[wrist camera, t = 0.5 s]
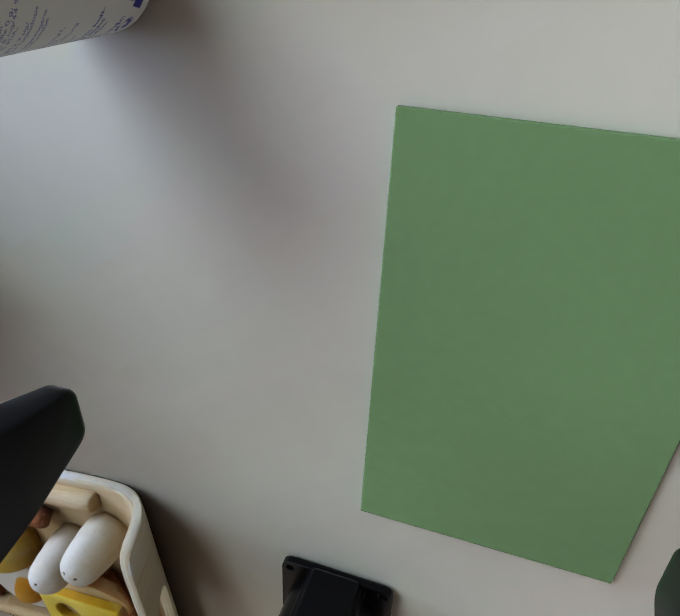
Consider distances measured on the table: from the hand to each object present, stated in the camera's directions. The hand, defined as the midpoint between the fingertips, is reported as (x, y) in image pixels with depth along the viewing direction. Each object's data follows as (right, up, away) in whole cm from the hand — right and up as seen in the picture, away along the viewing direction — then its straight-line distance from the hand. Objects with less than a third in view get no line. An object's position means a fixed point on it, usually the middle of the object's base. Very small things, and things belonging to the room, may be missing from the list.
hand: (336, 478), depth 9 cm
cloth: (+7, 0, +15) cm, 17 cm away
